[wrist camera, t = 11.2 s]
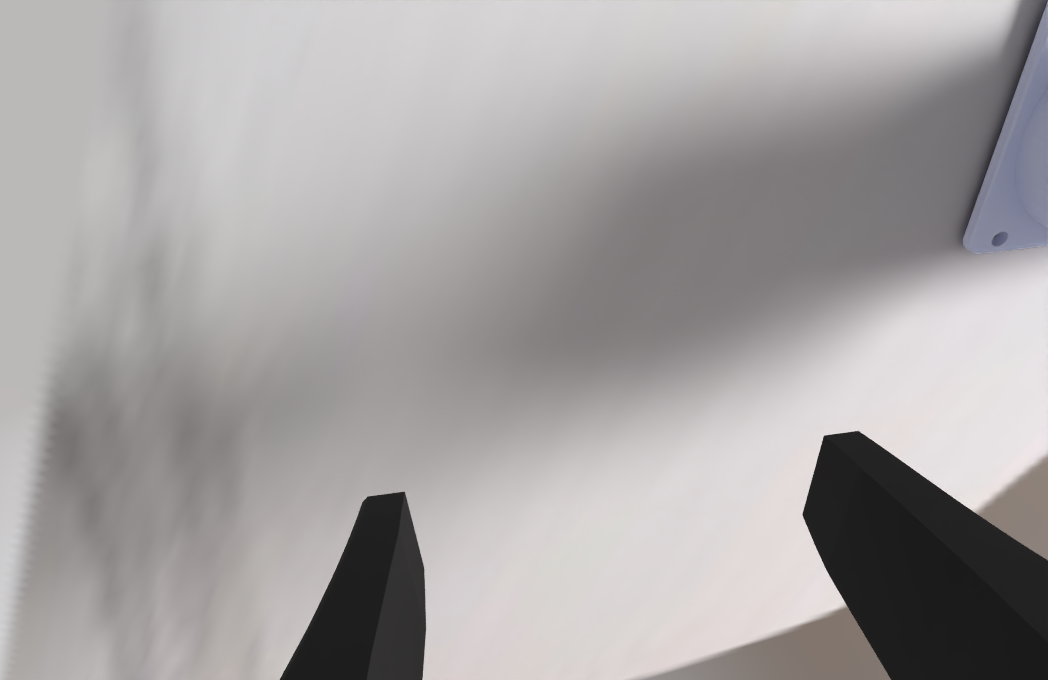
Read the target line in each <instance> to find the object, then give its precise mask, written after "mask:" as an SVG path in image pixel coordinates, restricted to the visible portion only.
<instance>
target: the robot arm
mask: <svg viewBox="0 0 1048 680" xmlns="http://www.w3.org/2000/svg"><path fill="white" fill-rule="evenodd" d="M998 233H999V234H998ZM997 234H998V235H997ZM996 235H997V237H996V238H994V236H996ZM993 238H994V239H993ZM992 239H993V240H992ZM963 246H964V248H966V249H968V250H969V251H971V252H972V253H974V254H984V253H992V252H1000V251H1009V250H1017V249H1026V248H1034V247H1042V246H1048V2H1047V5H1046V8H1045V10H1044V13H1043V16H1042V19H1041V22H1040V24H1039V27H1038V30H1037V33H1036V36H1035V38H1034V41H1033V44H1032V47H1031V50H1030V52H1029V55H1028V58H1027V61H1026V64H1025V66H1024V69H1023V72H1022V75H1021V78H1020V80H1019V83H1018V86H1017V89H1016V92H1015V95H1014V97H1013V100H1012V103H1011V106H1010V109H1009V111H1008V114H1007V117H1006V120H1005V123H1004V125H1003V128H1002V131H1001V134H1000V137H999V139H998V142H997V145H996V148H995V151H994V153H993V156H992V159H991V162H990V165H989V167H988V170H987V173H986V176H985V179H984V181H983V184H982V187H981V190H980V193H979V195H978V198H977V201H976V204H975V207H974V209H973V212H972V215H971V218H970V221H969V223H968V226H967V229H966V232H965V235H964V237H963ZM803 517H804V520H805V522H806V525H807V527H808V529H809V532H810V534H811V536H812V539H813V541H814V544H815V546H816V548H817V550H818V553H819V555H820V557H821V559H822V561H823V563H824V566H825V568H826V570H827V572H828V574H829V575H830V577H831V579H832V581H833V582H834V584H835V586H836V588H837V589H838V591H839V593H840V594H841V596H842V598H843V599H844V601H845V603H846V605H847V606H848V608H849V610H850V611H851V613H852V615H853V616H854V618H855V620H856V621H857V623H858V625H859V626H860V628H861V630H862V631H863V633H864V635H865V637H866V638H867V640H868V642H869V643H870V645H871V646H872V648H873V650H874V652H875V653H876V655H877V657H878V658H879V660H880V662H881V663H882V665H883V666H884V668H885V670H886V671H887V673H888V675H889V677H890V678H891V680H1048V561H1047V560H1046V559H1045V558H1043V557H1041V556H1040V555H1038V554H1036V553H1035V552H1033V551H1032V550H1030V549H1029V548H1027V547H1026V546H1024V545H1022V544H1021V543H1019V542H1018V541H1016V540H1015V539H1013V538H1012V537H1010V536H1008V535H1007V534H1006V533H1004V532H1003V531H1001V530H1000V529H998V528H997V527H995V526H994V525H992V524H991V523H989V522H988V521H986V520H985V519H983V518H982V517H980V516H979V515H977V514H976V513H974V512H973V511H972V510H970V509H969V508H967V507H966V506H964V505H963V504H961V503H960V502H958V501H957V500H956V499H954V498H953V497H951V496H950V495H948V494H947V493H946V492H944V491H943V490H941V489H940V488H939V487H937V486H936V485H934V484H933V483H931V482H930V481H929V480H927V479H926V478H924V477H923V476H922V475H920V474H919V473H917V472H916V471H915V470H913V469H912V468H910V467H909V466H908V465H906V464H905V463H903V462H902V461H901V460H899V459H898V458H896V457H895V456H894V455H892V454H891V453H889V452H888V451H887V450H885V449H884V448H882V447H881V446H879V445H878V444H877V443H875V442H874V441H872V440H871V439H869V438H868V437H866V436H865V435H863V434H862V433H860V432H859V431H855V432H848V433H840V434H833V435H825V436H824V438H823V441H822V445H821V449H820V452H819V456H818V460H817V463H816V467H815V471H814V474H813V478H812V482H811V485H810V489H809V493H808V496H807V500H806V504H805V507H804V511H803ZM425 635H426V612H425V579H424V566H423V562H422V558H421V554H420V550H419V546H418V542H417V538H416V534H415V530H414V526H413V522H412V518H411V514H410V511H409V507H408V503H407V499H406V495H405V492H399V493H392V494H384V495H377V496H369V497H367V498H366V499H365V500H364V501H363V502H362V505H361V508H360V511H359V514H358V517H357V519H356V522H355V524H354V527H353V530H352V532H351V535H350V537H349V540H348V542H347V545H346V547H345V549H344V552H343V554H342V556H341V559H340V561H339V563H338V565H337V568H336V570H335V572H334V574H333V577H332V579H331V581H330V583H329V585H328V587H327V589H326V591H325V593H324V595H323V598H322V600H321V602H320V604H319V606H318V608H317V610H316V612H315V614H314V616H313V618H312V620H311V622H310V624H309V626H308V628H307V630H306V632H305V634H304V636H303V638H302V640H301V641H300V643H299V645H298V647H297V649H296V651H295V653H294V654H293V656H292V658H291V660H290V662H289V664H288V665H287V667H286V669H285V671H284V673H283V675H282V677H281V678H280V680H422V677H423V663H424V649H425Z"/></svg>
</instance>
